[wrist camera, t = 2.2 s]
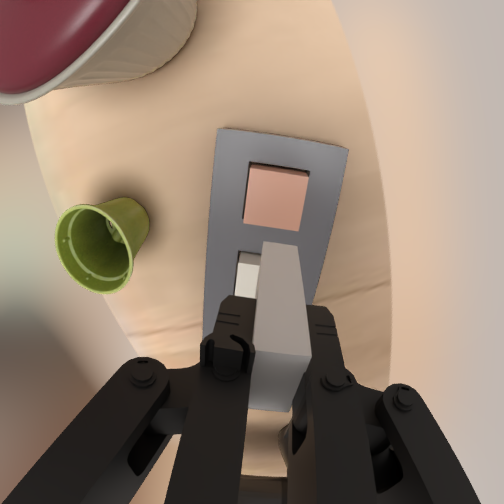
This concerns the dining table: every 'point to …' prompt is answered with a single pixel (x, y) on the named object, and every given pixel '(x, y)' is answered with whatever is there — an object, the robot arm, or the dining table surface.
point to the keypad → (252, 236)
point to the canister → (86, 42)
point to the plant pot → (101, 243)
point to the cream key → (247, 274)
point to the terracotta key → (275, 197)
